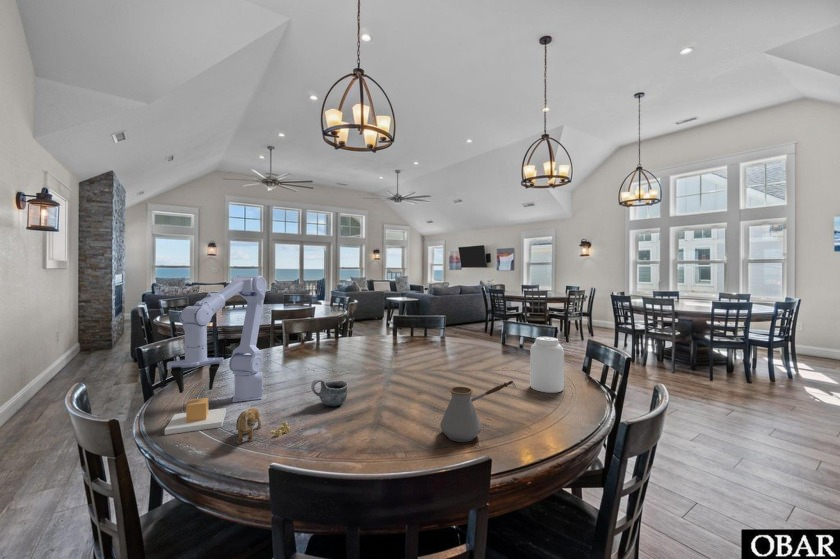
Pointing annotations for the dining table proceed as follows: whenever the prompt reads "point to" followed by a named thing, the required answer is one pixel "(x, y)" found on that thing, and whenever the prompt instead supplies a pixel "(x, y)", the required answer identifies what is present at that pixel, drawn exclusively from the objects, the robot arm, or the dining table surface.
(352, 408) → the dining table surface
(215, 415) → the plate
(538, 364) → the white jar
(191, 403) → the orange cube
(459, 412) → the coffee pot
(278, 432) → the dice set
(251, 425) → the lion figurine
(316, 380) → the mug
